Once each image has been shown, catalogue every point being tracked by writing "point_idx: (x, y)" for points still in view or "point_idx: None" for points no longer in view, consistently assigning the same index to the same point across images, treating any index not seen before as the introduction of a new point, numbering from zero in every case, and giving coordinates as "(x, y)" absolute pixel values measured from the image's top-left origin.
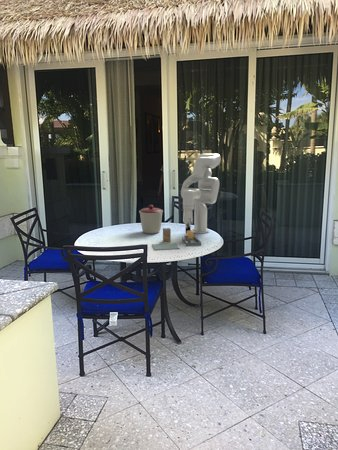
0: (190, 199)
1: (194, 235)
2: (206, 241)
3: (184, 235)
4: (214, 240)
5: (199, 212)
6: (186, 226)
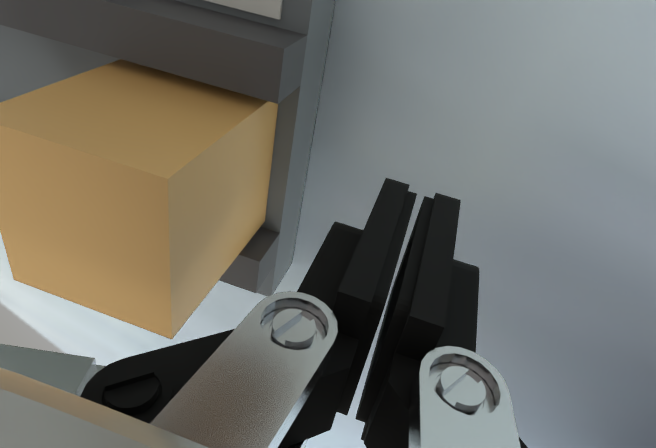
0: None
1: None
2: None
3: (279, 51)
4: None
5: None
6: (286, 358)
